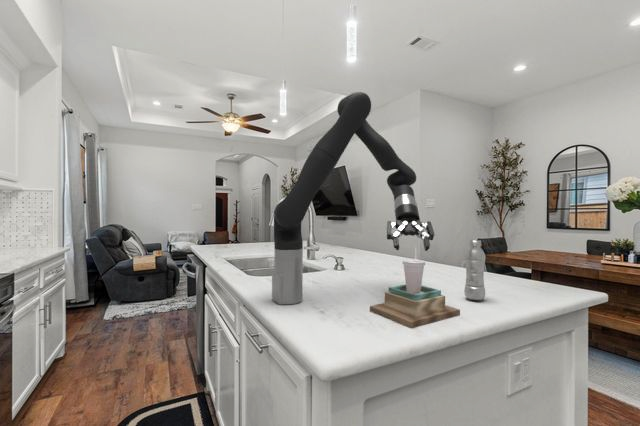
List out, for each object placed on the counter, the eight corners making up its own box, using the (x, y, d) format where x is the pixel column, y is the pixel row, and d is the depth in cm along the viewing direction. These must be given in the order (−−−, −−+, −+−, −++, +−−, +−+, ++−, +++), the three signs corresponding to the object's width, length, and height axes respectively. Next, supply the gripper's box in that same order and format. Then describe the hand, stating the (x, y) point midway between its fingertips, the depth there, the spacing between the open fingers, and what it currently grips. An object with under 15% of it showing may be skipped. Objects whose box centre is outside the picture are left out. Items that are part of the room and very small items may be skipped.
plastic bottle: (464, 301, 106) (465, 240, 106) (463, 296, 112) (464, 239, 112) (486, 303, 103) (487, 241, 103) (484, 298, 110) (485, 239, 109)
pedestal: (411, 328, 82) (411, 300, 82) (369, 311, 95) (369, 287, 95) (460, 314, 92) (460, 290, 92) (416, 301, 106) (416, 279, 106)
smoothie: (426, 297, 90) (426, 247, 90) (402, 296, 92) (403, 247, 91) (423, 291, 97) (423, 245, 96) (401, 290, 98) (401, 244, 98)
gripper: (385, 202, 106) (389, 240, 95) (430, 202, 105) (439, 241, 94) (383, 218, 112) (387, 255, 100) (426, 218, 110) (434, 256, 99)
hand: (412, 248), depth 97 cm, fingers open, 8 cm apart
